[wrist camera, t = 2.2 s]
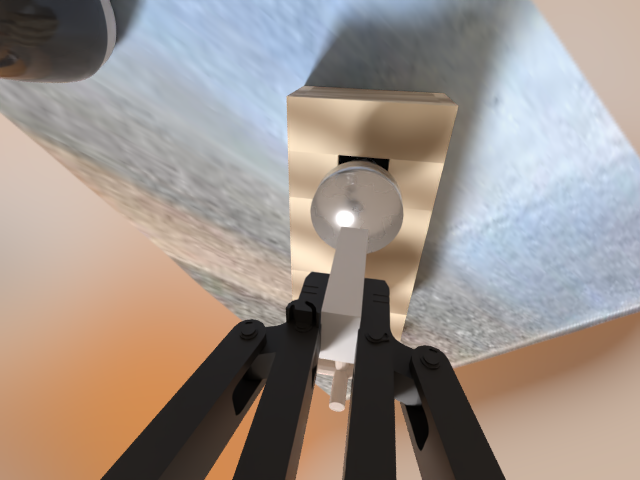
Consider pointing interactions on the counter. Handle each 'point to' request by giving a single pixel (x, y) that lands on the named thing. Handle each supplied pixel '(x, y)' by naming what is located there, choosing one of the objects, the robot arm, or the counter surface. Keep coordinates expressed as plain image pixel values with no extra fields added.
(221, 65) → the counter surface
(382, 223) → the grey shiny disc
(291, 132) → the panel housing
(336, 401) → the pipe connector
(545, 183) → the counter surface
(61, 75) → the pump dispenser
